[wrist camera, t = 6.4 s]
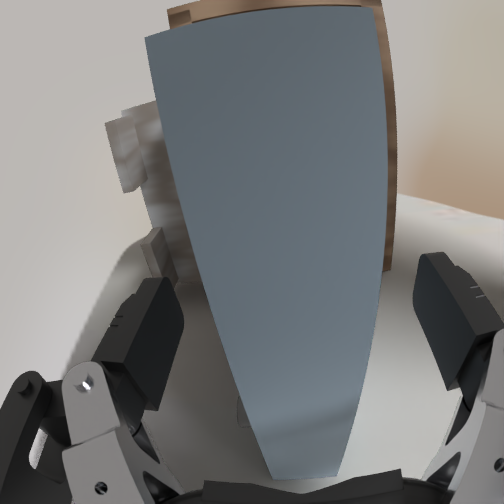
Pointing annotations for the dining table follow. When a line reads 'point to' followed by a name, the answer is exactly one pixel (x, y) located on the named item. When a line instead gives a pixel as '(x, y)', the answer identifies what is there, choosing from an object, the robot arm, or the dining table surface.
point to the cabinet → (157, 160)
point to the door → (283, 210)
